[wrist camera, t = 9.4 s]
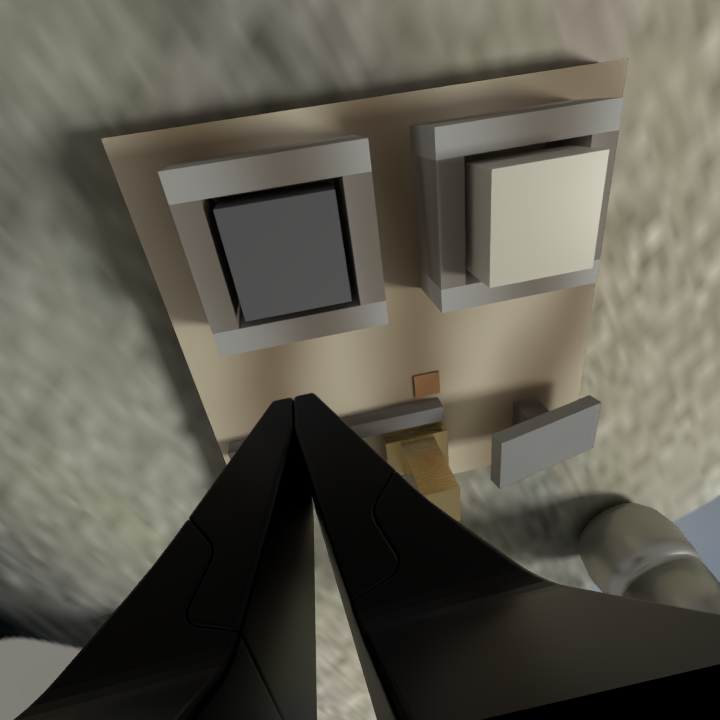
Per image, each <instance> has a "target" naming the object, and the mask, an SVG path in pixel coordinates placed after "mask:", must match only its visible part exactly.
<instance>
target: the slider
mask: <svg viewBox="0 0 720 720" xmlns="http://www.w3.org/2000/svg"><path fill="white" fill-rule="evenodd" d="M382 436H383V443H384V450H385V458H386V461H387V462H388V463H389V464H390V465H391V466H392V467H393V468H394V469H395V470H396V472H398V473H400V474H401V475H405V477H406V480H407V481H408V482H409V483H410V484H411V485H412V486H414V487H415V488H416V489H417V490H418V491H419V492H420V493H422V494H423V495H424V496H425V497H426V498H427V499H428V500H430V501H431V502H432V503H434V504H435V505H436V506H438V507H439V508H440V509H442V510H443V511H444V512H446V513H447V514H448V515H450V516H451V517H452V518H454V519H455V520H457V521H461V516H460V487H459V485H458V483H457V481H456V479H455V477H454V475H453V473H452V471H451V469H450V467H449V456H448V431H447V429H446V427H445V425H444V423H443V421H438V422H434V423H429V424H424V425H420V426H415V427H411V428H406V429H402V430H397V431H393V432H388V433H384V434H382Z"/></svg>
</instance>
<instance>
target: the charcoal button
mask: <svg viewBox="0 0 720 720" xmlns="http://www.w3.org/2000/svg"><path fill="white" fill-rule="evenodd" d="M213 212H214V215H215V218H216V222H217V225H218V229H219V232H220V236H221V239H222V243H223V246H224V249H225V253H226V256H227V260H228V263H229V267H230V270H231V273H232V277H233V280H234V284H235V287H236V291H237V294H238V298H239V301H240V304H241V308H242V311H243V315H244V318H245V322H247V321H252V320H257V319H262V318H267V317H273V316H278V315H283V314H288V313H293V312H299V311H304V310H309V309H314V308H319V307H325V306H330V305H335V304H340V303H346V302H351V301H352V299H351V292H350V286H349V279H348V272H347V266H346V259H345V253H344V246H343V239H342V233H341V226H340V220H339V213H338V207H337V200H336V193H335V189H334V188H333V187H332V185H331V184H330V183H329V182H328V181H323V182H317V183H312V184H306V185H300V186H294V187H288V188H282V189H276V190H270V191H264V192H258V193H252V194H246V195H240V196H234V197H228V198H222V199H220V200H219V201H218V203H217V205H216V206H215V208H214V209H213Z"/></svg>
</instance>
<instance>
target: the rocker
mask: <svg viewBox="0 0 720 720" xmlns="http://www.w3.org/2000/svg"><path fill="white" fill-rule="evenodd" d="M600 408H601V402H600V401H598V400H597V399H595V398H593V397H592V396H590V395H589V396H586V397H584V398H581V399H579V400H576V401H574V402H571V403H569V404H566V405H564V406H561V407H559V408H556V409H554V410H551V411H549V412H546V413H544V414H541V415H539V416H536V417H534V418H532V419H529V420H527V421H524V422H522V423H519V424H517V425H514V426H512V427H509V428H507V429H504V430H502V431H499V432H497V433H494V434H492V445H491V480H492V481H493V482H494V484H495V485H496V486H497V487H498V488H499V489H501V488H504V487H506V486H508V485H510V484H513V483H515V482H517V481H519V480H522V479H524V478H526V477H528V476H531V475H533V474H535V473H537V472H540V471H542V470H544V469H546V468H549V467H551V466H553V465H555V464H558V463H560V462H562V461H564V460H567V459H569V458H571V457H573V456H576V455H578V454H580V453H582V452H585V451H587V450H589V449H591V448H593V447H594V441H595V436H596V430H597V424H598V419H599V413H600Z"/></svg>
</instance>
